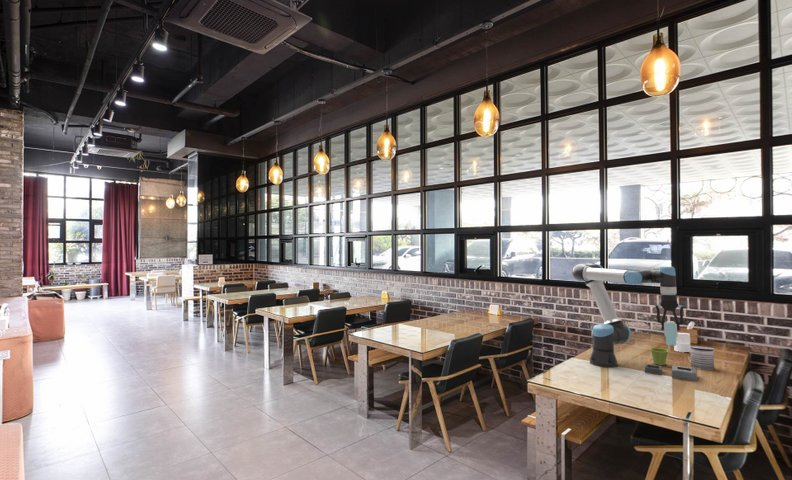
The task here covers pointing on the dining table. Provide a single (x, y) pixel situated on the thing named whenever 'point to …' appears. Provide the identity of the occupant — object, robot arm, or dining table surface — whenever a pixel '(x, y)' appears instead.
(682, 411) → the dining table surface
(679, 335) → the cylinder with rectangular tab
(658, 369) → the holster
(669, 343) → the plug
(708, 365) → the can
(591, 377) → the dining table surface
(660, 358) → the plant pot
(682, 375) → the port block
